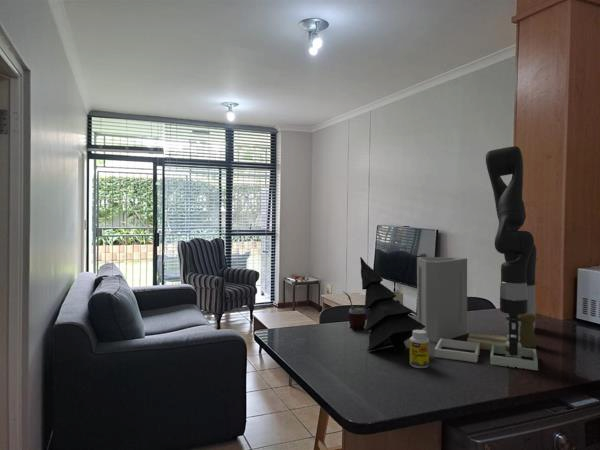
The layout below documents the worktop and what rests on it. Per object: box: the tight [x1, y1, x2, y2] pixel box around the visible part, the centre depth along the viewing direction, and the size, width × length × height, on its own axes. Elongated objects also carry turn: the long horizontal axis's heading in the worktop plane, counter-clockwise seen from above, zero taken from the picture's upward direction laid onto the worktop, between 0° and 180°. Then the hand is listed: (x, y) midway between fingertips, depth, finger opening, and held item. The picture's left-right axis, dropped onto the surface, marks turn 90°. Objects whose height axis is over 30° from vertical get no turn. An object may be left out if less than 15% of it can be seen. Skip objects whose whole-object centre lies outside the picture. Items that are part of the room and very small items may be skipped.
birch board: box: [466, 332, 508, 351], centre depth 147 cm, size 12×12×2 cm
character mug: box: [391, 290, 404, 305], centre depth 174 cm, size 11×7×13 cm, turn 131°
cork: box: [518, 312, 537, 349], centre depth 146 cm, size 6×6×11 cm
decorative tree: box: [359, 256, 426, 355], centre depth 146 cm, size 15×15×35 cm
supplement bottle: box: [409, 330, 430, 369], centre depth 128 cm, size 6×6×10 cm
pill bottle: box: [504, 334, 523, 359], centre depth 131 cm, size 4×4×8 cm
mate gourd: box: [343, 291, 367, 332], centre depth 169 cm, size 8×8×15 cm
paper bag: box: [416, 256, 468, 344], centre depth 161 cm, size 19×15×28 cm
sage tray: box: [489, 344, 539, 371], centre depth 131 cm, size 12×12×2 cm
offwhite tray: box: [434, 338, 481, 363], centre depth 138 cm, size 12×12×2 cm
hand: (513, 351), depth 131 cm, fingers open, 6 cm apart
